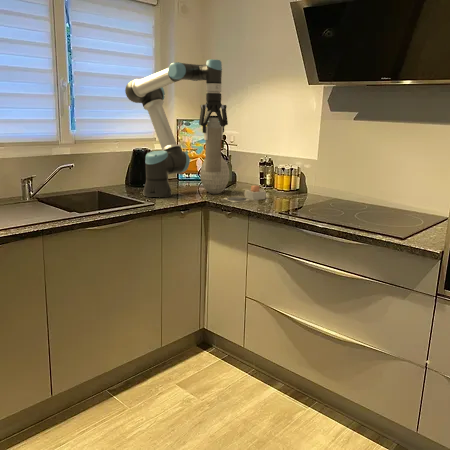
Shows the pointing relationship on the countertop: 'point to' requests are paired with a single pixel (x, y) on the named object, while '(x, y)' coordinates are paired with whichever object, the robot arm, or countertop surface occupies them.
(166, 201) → the countertop surface
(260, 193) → the housing
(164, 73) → the robot arm
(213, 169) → the thermos bottle
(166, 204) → the countertop surface
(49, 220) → the countertop surface
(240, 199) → the beige square plate
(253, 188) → the brown egg
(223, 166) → the vase
